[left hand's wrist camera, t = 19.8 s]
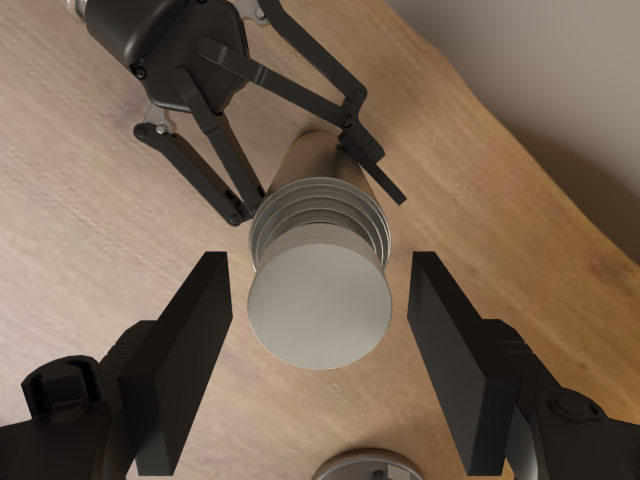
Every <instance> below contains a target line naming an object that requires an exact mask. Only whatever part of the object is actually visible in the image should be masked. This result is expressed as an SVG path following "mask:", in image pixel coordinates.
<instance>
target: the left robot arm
mask: <svg viewBox="0 0 640 480" xmlns="http://www.w3.org/2000/svg"><path fill="white" fill-rule="evenodd" d="M232 319H233V314H232V303H231V292H230V281H229V270H228V259H227V252H205V253H204V254H203V256H202V257H201V259H200V260H199V261H198V263H197V264H196V266H195V267H194V269H193V270H192V271H191V273H190V274H189V276H188V277H187V278H186V280H185V281H184V283H183V284H182V286H181V287H180V288H179V290H178V291H177V293H176V294H175V296H174V297H173V298H172V300H171V301H170V303H169V304H168V305H167V307H166V308H165V310H164V311H163V313H162V314H161V315H160V317H159V318H158V320H141V321H139V322H138V323H136V324H135V325H133V326H132V327H130V328H129V329H127V330H126V331H125V332H124V333H123V334H122V335H121V337H120V338H119V339H118V340H117V342H116V344H115V345H113V346H112V348H111V349H110V350H109V351H108V354H107V355H105V356H104V358H103V359H102V360H101V361H100V363H99V364H98V361H96V360H95V359H94V358H93V357H89V356H84V355H76V356H67V357H63V358H60V359H56V360H53V361H51V362H49V363H47V364H45V365H42V366H40V367H39V368H37V369H36V370H34V371H33V372H32V373H30V374H29V375H28V376H27V377H26V378H25V379H24V381H23V382H22V383H21V387H22V390H23V393H24V396H25V399H26V402H27V405H28V407H29V410H30V413H31V416H32V419H31V420H28V421H24V422H20V423H15V424H11V425H7V426H2V427H0V480H126V474H127V472H128V470H129V468H130V466H131V464H132V462H133V460H134V458H135V461H136V465H137V470H138V474H139V476H173V474H174V471H175V468H176V466H177V463H178V461H179V458H180V455H181V453H182V450H183V447H184V445H185V442H186V440H187V437H188V434H189V432H190V429H191V426H192V424H193V421H194V419H195V416H196V413H197V411H198V408H199V405H200V403H201V400H202V398H203V395H204V392H205V390H206V387H207V384H208V382H209V379H210V377H211V374H212V371H213V369H214V366H215V363H216V361H217V358H218V356H219V353H220V350H221V348H222V345H223V342H224V340H225V337H226V335H227V332H228V329H229V327H230V324H231V321H232ZM407 319H408V321H409V324H410V327H411V329H412V332H413V335H414V337H415V340H416V342H417V345H418V348H419V350H420V353H421V356H422V358H423V361H424V363H425V366H426V369H427V371H428V374H429V377H430V379H431V382H432V384H433V387H434V390H435V392H436V395H437V398H438V400H439V403H440V405H441V408H442V411H443V413H444V416H445V419H446V421H447V424H448V426H449V429H450V432H451V434H452V437H453V440H454V442H455V445H456V447H457V450H458V453H459V455H460V458H461V461H462V463H463V466H464V468H465V471H466V474H467V476H501V474H502V469H503V465H504V461H505V456H506V458H507V460H508V462H509V464H510V466H511V468H512V470H513V472H514V474H515V475H514V480H640V425H637V424H632V423H628V422H623V421H619V420H615V419H611V418H608V417H607V415H606V414H605V412H604V411H603V409H602V408H601V407H600V406H599V405H597V404H596V403H595V402H594V401H593V400H591V399H590V398H588V397H586V396H584V395H582V394H580V393H579V392H576V391H573V390H570V389H567V388H564V387H561V385H560V384H559V383H558V382H557V381H556V379H555V378H554V377H553V376H552V374H551V373H550V372H549V371H548V369H547V368H546V367H545V366H544V365H543V363H542V362H541V361H540V360H539V358H538V357H537V356H536V355H535V354H533V351H532V350H531V348H530V347H529V346H528V345H527V344H525V341H524V340H523V339H522V337H521V336H520V335H519V334H518V332H517V331H516V330H515V329H514V328H512V327H511V326H509V325H508V324H506V323H505V322H503V321H502V320H500V319H482V318H481V317H480V315H479V314H478V313H477V311H476V310H475V308H474V307H473V305H472V304H471V303H470V301H469V300H468V298H467V297H466V296H465V294H464V293H463V291H462V290H461V288H460V287H459V286H458V284H457V283H456V281H455V280H454V278H453V277H452V276H451V274H450V273H449V271H448V270H447V269H446V267H445V266H444V264H443V263H442V261H441V260H440V259H439V257H438V256H437V254H436V253H435V252H413V259H412V270H411V281H410V292H409V303H408V314H407ZM311 480H425V478H424V476H423V474H422V472H421V471H420V469H419V468H418V467H417V466H416V465H415V464H414V463H412V462H411V461H410V460H408V459H407V458H405V457H403V456H401V455H398V454H396V453H392V452H389V451H384V450H375V449H365V450H356V451H351V452H347V453H344V454H341V455H339V456H337V457H335V458H333V459H331V460H329V461H328V462H326V463H325V464H324V465H322V466H321V467H320V468H319V469H318V470H317V472H316V473H315V474H314V476H313V477H312V479H311Z"/></svg>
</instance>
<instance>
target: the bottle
mask: <svg viewBox="0 0 640 480" xmlns="http://www.w3.org/2000/svg"><path fill="white" fill-rule="evenodd" d="M337 137H338V136H337V135H335V134H333V133H330V132H326V131H314V132H309V133H307V134H304V135H303V136H301V137H299V138H298V139H297V140H296V141H295V142H294V143H293V144H292V145H291V147H290V148H289V150H288V152H287V154H286V156H285V158H284V160H283V162H282V164H281V165H280V167H279V169H278V171H277V173H276V175H275V177H274V179H273V181H272V183H271V185H270V187H269V189H268V191H267V193H266V195H265V196H264V198H263V200H262V202H261V204H260V206H259V208H258V210H257V212H256V214H255V216H254V219H253V221H252V224H251V227H250V232H249V253H250V258H251V261H252V265H253V267H254V270H255V272H256V271H257V268H258V265H259V262H260V260H261V258H262V256H263V254H264V252H265V251H266V249H267V248H268V247H269V246H270V245H271V243H272V242H273V241H274V240H276V239H277V238H278V237H279V236H281V235H282V234H284V233H285V232H287V231H289V230H291V229H294V228H296V227H299V226H303V225H308V224H318V223H323V224H332V225H337V226H341V227H343V228H346V229H348V230H350V231H352V232H354V233H356V234H357V235H359V236H360V237H362V238H363V239H364V240H365V241H366V242H367V243H368V244H369V245H370V246H371V247H372V248H373V250H374V251H375V253H376V254H377V256H378V258H379V261H380V263H381V266H382V269H383V271H384V272H385V269H386V267H387V264H388V261H389V257H390V252H391V234H390V228H389V225H388V222H387V219H386V217H385V215H384V213H383V211H382V209H381V207H380V205H379V203H378V201H377V199H376V197H375V195H374V193H373V191H372V189H371V187H370V185H369V183H368V181H367V179H366V178H365V176H364V174H363V172H362V170H361V168H360V166H359V164H358V162H357V160H356V159H355V158H354V157H353V156H352V155H351V154H350V153H349V152H348V151H347V150H346V149H345V148H344V147H343V146H342V144H341V143H340V142H339V141H338V138H337Z"/></svg>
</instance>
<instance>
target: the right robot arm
mask: <svg viewBox="0 0 640 480" xmlns="http://www.w3.org/2000/svg"><path fill="white" fill-rule="evenodd" d="M54 1H55V2H56V3H57V4H58V5H59V6H61V7H62V8H63V9H64V10H65V11H66V12H67V13H68V14H69V15H70V16H71V17H72V18H73V19H74V20H75V21H76V22H78V23H80V24H82V25H86V27H87V30H88V32H89V34H90V35H91V36H92V37H93V38H94V39H96V40H97V41H98V42H99V43H100V44H101V45H102V46H103V47H104V48H105V49H106V50H107V51H108V52H109V53H110V54H111V55H112V56H114V57H115V58H116V59H117V60H118V61H119V62H120V63H121V64H122V65H123V66H124V67H125V68H126V69H127V70H128V71H129V72H130V73H132V74H133V75H134V76H135V77H136V78H137V79H138V80H139V81H140V82H141V83H142V85H143V86H144V88H145V90H146V93H147V95H148V97H149V99H150V101H151V105H150V107H149V109H148V112H147V114H146V116H145V119H144V121H143V123H141V124H137V125H136V126H135V127H134V130H133V132H134V135H135V137H136V138H137V139H138V140H139V141H141V142H143V143H145V144H147V145H148V146H150V147H152V148H154V149H156V150H157V151H159V152H161V153H162V154H163V155H164V156H165V157H166V158H167V159H168V160H169V161H170V163H171V164H172V165H173V166H174V167H175V168H176V169H177V170H178V171H179V172H180V173H181V174H182V175H183V176H184V177H185V178H186V179H187V181H188V182H189V183H190V184H191V185H192V186H193V187H194V188H195V189H196V190H197V191H198V192H199V193H200V194H201V195H202V196H203V197H204V199H205V200H206V201H207V202H208V203H209V204H210V205H211V206H212V207H213V208H214V209H215V210H216V211H217V212H218V213H219V214H220V215H221V217H222V218H223V219H224V220H225V221H226V222H227V223H228V224H229V225H231V226H233V227H236V226H239V225H240V224H241V223H243V222H245V221H247V220H249V219H253V218H254V216H255V214H256V212H257V210H258V208H259V206H260V204H261V202H262V200H263V198H264V196H265V195H266V193H265V191H264V189H263V187H262V185H261V184H260V182H259V180H258V178H257V176H256V174H255V172H254V171H253V169H252V167H251V165H250V163H249V161H248V159H247V157H246V156H245V154H244V152H243V150H242V148H241V146H240V144H239V143H238V141H237V139H236V137H235V135H234V133H233V131H232V129H231V128H230V125H229V121H228V119H227V117H226V115H225V113H224V111H223V110H224V109H225V108H226V107H227V106H228V105H229V103H230V101H231V99H232V97H233V95H234V93H236V92H238V91H239V90H241V89H242V88H244V87H245V85H246V84H247V83H248V82H249V81H251V82H253V83H255V84H257V85H259V86H261V87H263V88H265V89H267V90H269V91H271V92H273V93H275V94H277V95H279V96H280V97H282V98H284V99H286V100H288V101H290V102H292V103H294V104H296V105H298V106H300V107H301V108H303V109H305V110H307V111H309V112H311V113H313V114H315V115H317V116H319V117H321V118H322V119H324V120H326V121H328V122H330V123H332V124H334V125H336V126H338V127H340V128H341V129H342V130H343V132H342V133H341V134H340V135H339V136H338V137H337V138H338V141H339V142H340V143H341V144H342V146H343V147H344V148H345V149H346V150H347V151H348V152H349V153H350V154H351V155H352V156H353V157H354V158H355V159H356V160H357V161H358V163H359V164H360V165H361V166H362V167H363V168H364V169H365V170H366V171H367V172H368V173H369V174H370V175H371V176H372V177H373V178H374V180H375V181H376V182H377V183H378V184H379V185H380V186H381V187H382V188H383V189H384V190H385V191H386V192H387V193H388V194H389V196H390V197H391V198H392V199H393V200H394V201H395V202H396V203H397V204H398V205H399V206H400V205H401V204H402V203H403V202H404V201H405V200H406V199H407V198H406V197H405V196H404V194H403V193H402V192H401V191H400V190H399V188H398V187H397V186H396V185H395V184H394V183H393V182H392V181H391V180H390V179H389V178H388V177H387V175H386V174H385V173H384V172H383V171H382V170H381V169H380V168H379V167H378V166H377V165H376V163H377V162H378V161H379V160H380V159H382V158H383V157H384V156H385V153H384V150H383V148H382V147H381V146H380V144H379V143H378V142H377V141H376V140H375V139H374V138H373V137H372V136H371V135H370V133H369V132H368V131H367V130H366V129H365V128H364V127H363V126H362V125H361V123H360V122H359V119H358V113H359V110H360V108H361V106H362V104H363V102H364V100H365V99H366V97H367V89H366V88H365V86H363V85H362V84H361V83H360V82H359V81H358V80H357V79H356V78H355V77H354V76H353V75H352V74H351V73H350V72H349V71H348V70H346V69H345V68H344V67H343V66H342V65H341V64H340V63H339V62H338V61H337V60H336V59H335V58H334V57H333V56H332V55H331V54H330V53H328V52H327V51H326V50H325V49H324V48H323V47H322V46H321V45H320V44H319V43H318V42H317V41H316V40H315V39H314V38H313V37H312V36H310V35H309V34H308V33H307V32H306V31H305V30H304V29H303V28H302V27H301V26H300V25H299V24H298V23H297V22H296V21H295V20H294V19H292V18H291V17H290V16H289V15H288V14H287V13H286V12H285V11H284V9H283V7H282V5H281V4H280V2H279V0H237V1H236V2H234V3H233V4H232V3H231V2H229V1H227V0H54ZM246 19H251V20H253V21H255V22H256V23H257V24H258V25H259V26H260V27H267V26H269V25H270V24H271V25H272V26H273V28H274V29H275V30H276V32H277V33H278V34H279V35H280V36H281V37H282V38H283V39H284V40H285V41H286V42H288V43H289V44H290V45H291V46H292V47H293V48H294V49H295V50H296V51H297V52H298V53H300V54H301V55H302V56H303V57H304V58H305V59H306V60H307V61H308V62H309V63H310V64H311V65H313V66H314V67H315V68H316V69H317V70H318V71H319V72H320V73H321V74H322V75H323V76H324V77H326V78H327V79H328V80H329V81H330V82H331V83H332V84H333V85H334V86H335V87H336V88H337V89H339V90H340V91H341V92H342V93H343V94H344V95H345V98H344V100H343V103H342V105H341V107H340V106H338V105H336V104H334V103H333V102H331V101H329V100H327V99H325V98H323V97H321V96H319V95H318V94H316V93H314V92H312V91H310V90H308V89H306V88H304V87H303V86H301V85H299V84H297V83H295V82H293V81H291V80H289V79H288V78H286V77H284V76H282V75H280V74H278V73H276V72H274V71H273V70H271V69H269V68H267V67H265V66H263V65H262V64H260V63H258V62H256V61H254V60H252V59H250V53H249V48H248V43H247V38H246V33H245V27H244V22H243V21H244V20H246ZM169 110H174V111H179V112H185V113H191V114H192V115H193V116H194V118H195V120H196V122H197V123H198V125H199V127H200V129H201V130H202V132H203V133H204V134H205V135H206V136H207V137H208V139H209V141H210V142H211V144H212V146H213V148H214V149H215V151H216V153H217V155H218V157H219V158H220V160H221V162H222V164H223V165H224V167H225V169H226V171H227V173H228V174H229V176H230V178H231V180H232V182H233V183H234V185H235V187H236V189H237V190H238V192H239V194H240V196H241V198H242V199H243V201H244V202H242V201H241V200H240V199H239V198H238V196H237V195H236V194H235V193H234V192H233V191H232V190H231V189H230V188H229V187H228V186H227V184H226V183H225V182H224V181H223V180H222V179H221V178H220V177H219V176H218V175H217V173H216V172H215V171H214V170H213V169H212V168H211V167H210V166H209V165H208V164H207V162H206V161H205V160H204V159H203V158H202V157H201V156H200V155H199V154H198V153H197V152H196V150H195V149H194V148H193V147H192V146H191V145H190V144H189V143H188V142H187V141H186V140H185V139H184V138H183V137H182V136H181V135H179V134H178V133H176V131H177V127H176V124H175V123H174V122H173V121H172V120H171V119H170V117H169Z"/></svg>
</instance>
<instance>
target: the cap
mask: <svg viewBox="0 0 640 480" xmlns="http://www.w3.org/2000/svg"><path fill="white" fill-rule="evenodd" d="M247 309H248V317H249V321H250V324H251V327H252V329H253V331H254V333H255V335H256V337H257V338H258V340H259V341H260V342H261V343H262V345H263V346H264V347H265V348H266V349H267V350H268V351H269V352H271V353H272V354H273V355H275V356H276V357H277V358H279V359H281V360H283V361H285V362H287V363H289V364H292V365H295V366H298V367H302V368H307V369H318V370H319V369H332V368H338V367H342V366H345V365H348V364H351V363H353V362H355V361H357V360H359V359H361V358H362V357H364V356H365V355H367V354H368V353H369V352H370V351H371V350H373V349H374V348H375V347H376V345H377V344H378V343H379V342H380V341H381V339H382V338H383V336H384V335H385V333H386V331H387V329H388V326H389V323H390V320H391V315H392V297H391V293H390V289H389V286H388V283H387V280H386V277H385V274H384V271H383V269H382V266H381V263H380V261H379V258H378V256H377V254H376V253H375V251H374V250H373V248H372V247H371V246H370V245H369V244H368V243H367V242H366V241H365V240H364V239H363V238H362V237H360V236H359V235H357V234H356V233H354V232H352V231H350V230H348V229H346V228H343V227H341V226H337V225H332V224H323V223H318V224H308V225H303V226H299V227H296V228H294V229H291V230H289V231H287V232H285V233H284V234H282V235H281V236H279V237H278V238H277V239H276V240H274V241H273V242H272V243H271V245H270V246H269V247H268V248H267V249H266V251H265V252H264V254H263V256H262V258H261V260H260V262H259V265H258V268H257V271H256V274H255V277H254V280H253V283H252V285H251V288H250V291H249V296H248V308H247Z"/></svg>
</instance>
